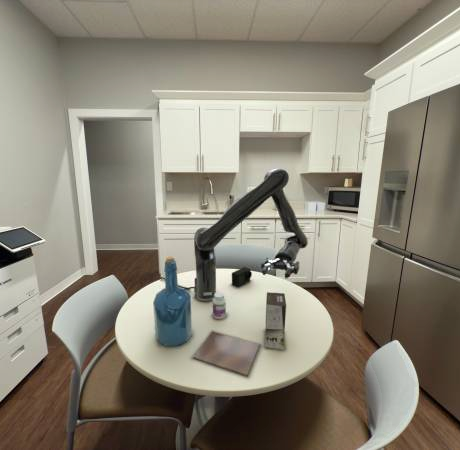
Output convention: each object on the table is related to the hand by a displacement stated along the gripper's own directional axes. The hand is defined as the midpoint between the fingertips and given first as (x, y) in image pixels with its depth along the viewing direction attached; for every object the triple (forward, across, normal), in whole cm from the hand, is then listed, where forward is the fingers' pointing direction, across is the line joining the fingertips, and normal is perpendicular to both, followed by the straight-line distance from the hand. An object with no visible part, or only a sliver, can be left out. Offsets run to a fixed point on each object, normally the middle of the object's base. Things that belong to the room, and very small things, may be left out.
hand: (274, 274), depth 93 cm
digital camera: (-23, -27, +22) cm, 42 cm away
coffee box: (+11, +2, +20) cm, 23 cm away
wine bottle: (+27, -30, +16) cm, 43 cm away
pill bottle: (+8, -22, +19) cm, 30 cm away
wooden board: (+25, -9, +17) cm, 31 cm away
